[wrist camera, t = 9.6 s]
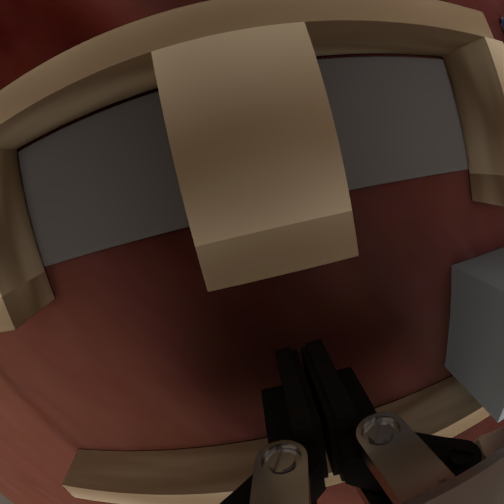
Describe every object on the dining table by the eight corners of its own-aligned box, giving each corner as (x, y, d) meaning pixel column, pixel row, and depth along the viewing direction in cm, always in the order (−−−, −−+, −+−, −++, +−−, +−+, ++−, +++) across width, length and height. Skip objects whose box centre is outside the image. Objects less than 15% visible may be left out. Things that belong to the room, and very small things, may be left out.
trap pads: (20, 152, 9) (17, 152, 9) (440, 60, 9) (442, 59, 9) (47, 265, 10) (44, 266, 10) (465, 168, 10) (468, 169, 10)
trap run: (-38, 159, 9) (-81, 161, 6) (508, 48, 9) (545, 37, 6) (88, 461, 13) (74, 497, 10) (525, 346, 13) (553, 367, 10)
